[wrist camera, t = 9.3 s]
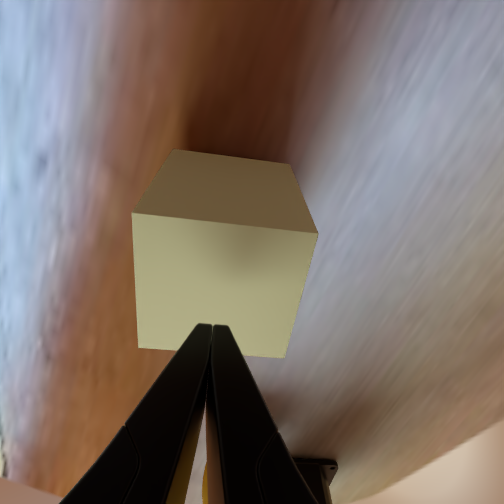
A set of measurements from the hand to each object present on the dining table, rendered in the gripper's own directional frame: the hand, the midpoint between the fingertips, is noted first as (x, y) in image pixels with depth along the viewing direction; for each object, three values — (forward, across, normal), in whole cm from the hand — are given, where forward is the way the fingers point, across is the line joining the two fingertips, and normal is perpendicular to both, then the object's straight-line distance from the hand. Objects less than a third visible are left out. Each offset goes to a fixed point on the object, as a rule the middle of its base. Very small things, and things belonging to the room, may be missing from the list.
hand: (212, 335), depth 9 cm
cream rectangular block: (+8, 0, 0) cm, 8 cm away
